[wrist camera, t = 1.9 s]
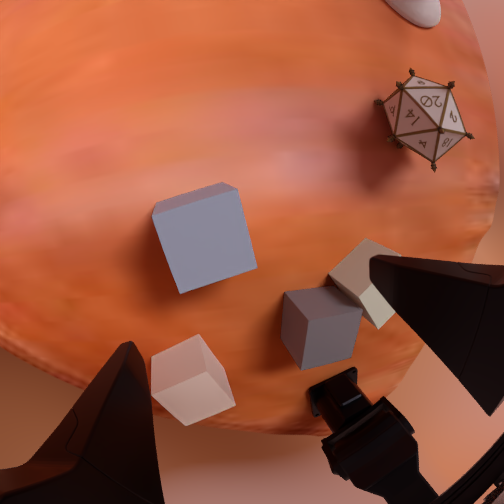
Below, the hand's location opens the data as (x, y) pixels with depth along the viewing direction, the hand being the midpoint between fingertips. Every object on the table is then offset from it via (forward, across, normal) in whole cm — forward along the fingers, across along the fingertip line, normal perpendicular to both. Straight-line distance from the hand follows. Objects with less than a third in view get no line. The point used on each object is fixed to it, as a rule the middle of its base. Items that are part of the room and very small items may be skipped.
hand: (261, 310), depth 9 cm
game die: (+13, -19, -5) cm, 24 cm away
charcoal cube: (+12, -6, +11) cm, 18 cm away
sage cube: (+12, -12, +9) cm, 20 cm away
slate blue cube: (+13, +1, 0) cm, 13 cm away
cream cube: (+12, +6, +12) cm, 18 cm away
